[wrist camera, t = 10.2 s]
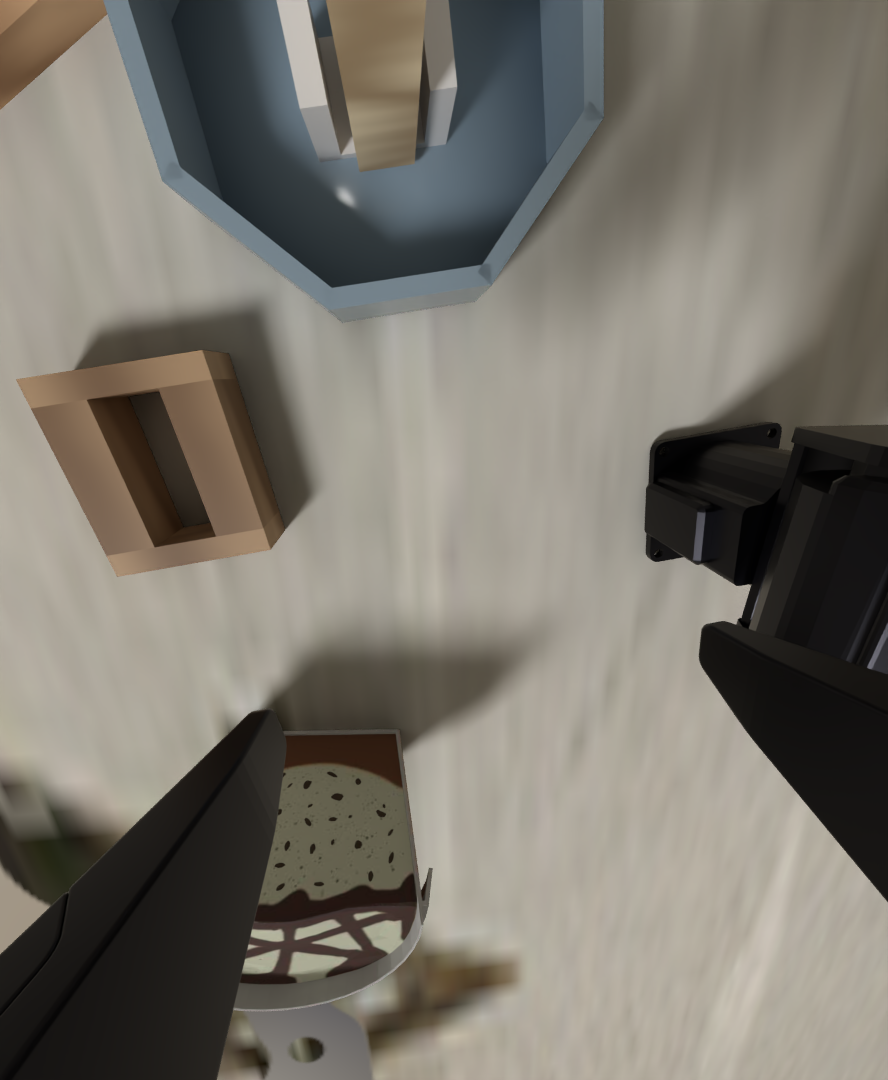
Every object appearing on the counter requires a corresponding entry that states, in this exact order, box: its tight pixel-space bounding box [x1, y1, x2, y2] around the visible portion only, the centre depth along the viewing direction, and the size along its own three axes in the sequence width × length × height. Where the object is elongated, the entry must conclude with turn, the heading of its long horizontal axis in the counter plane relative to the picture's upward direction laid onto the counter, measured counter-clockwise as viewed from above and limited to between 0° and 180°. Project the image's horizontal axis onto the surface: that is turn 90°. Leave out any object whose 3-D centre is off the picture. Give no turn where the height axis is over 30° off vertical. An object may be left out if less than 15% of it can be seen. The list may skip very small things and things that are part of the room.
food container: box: [233, 729, 433, 1011], centre depth 22 cm, size 12×6×10 cm, turn 85°
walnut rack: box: [16, 350, 285, 577], centre depth 17 cm, size 7×8×2 cm
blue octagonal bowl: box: [103, 0, 604, 323], centre depth 13 cm, size 13×13×4 cm
